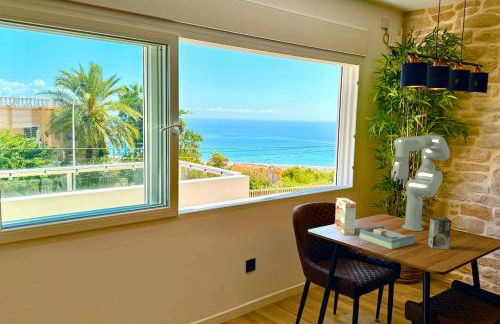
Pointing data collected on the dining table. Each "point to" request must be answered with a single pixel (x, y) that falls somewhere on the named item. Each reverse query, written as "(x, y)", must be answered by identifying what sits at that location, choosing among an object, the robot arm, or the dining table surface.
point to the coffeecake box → (345, 216)
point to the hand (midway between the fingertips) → (399, 190)
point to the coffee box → (439, 233)
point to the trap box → (386, 238)
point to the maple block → (380, 232)
